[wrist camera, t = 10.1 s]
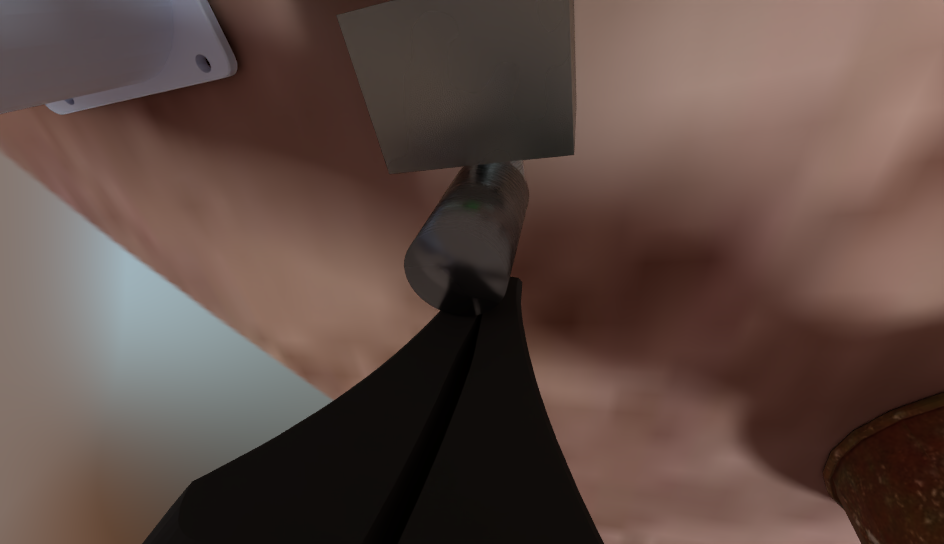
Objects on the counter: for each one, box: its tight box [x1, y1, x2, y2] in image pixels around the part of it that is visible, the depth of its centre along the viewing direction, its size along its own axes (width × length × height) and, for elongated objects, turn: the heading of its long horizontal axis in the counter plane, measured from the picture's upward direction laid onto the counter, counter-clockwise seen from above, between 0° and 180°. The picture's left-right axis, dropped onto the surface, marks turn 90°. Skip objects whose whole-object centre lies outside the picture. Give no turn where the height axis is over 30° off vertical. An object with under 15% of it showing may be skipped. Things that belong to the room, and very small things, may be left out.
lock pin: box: [404, 160, 529, 316], centre depth 7 cm, size 8×2×5 cm, turn 12°
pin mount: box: [336, 0, 576, 174], centre depth 9 cm, size 3×4×4 cm
